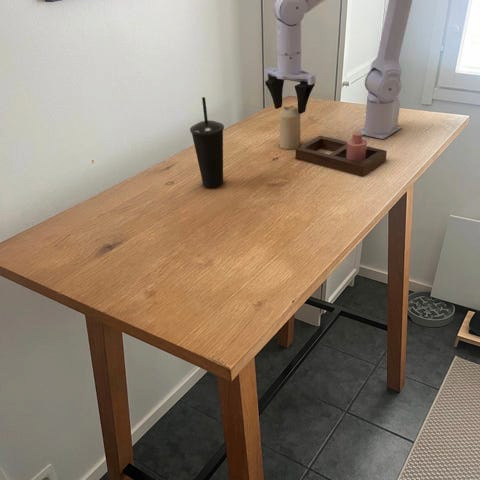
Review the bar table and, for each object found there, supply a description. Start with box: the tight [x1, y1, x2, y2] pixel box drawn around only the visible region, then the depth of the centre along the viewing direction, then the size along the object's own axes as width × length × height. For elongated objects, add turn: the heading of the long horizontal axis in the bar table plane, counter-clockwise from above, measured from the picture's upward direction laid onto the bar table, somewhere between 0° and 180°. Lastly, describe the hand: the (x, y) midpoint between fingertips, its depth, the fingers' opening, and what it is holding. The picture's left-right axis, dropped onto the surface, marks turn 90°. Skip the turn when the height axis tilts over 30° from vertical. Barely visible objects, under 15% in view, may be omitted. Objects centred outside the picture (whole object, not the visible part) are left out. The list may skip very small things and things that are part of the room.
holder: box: [295, 135, 388, 177], centre depth 126 cm, size 11×20×3 cm, turn 48°
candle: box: [278, 105, 301, 150], centre depth 134 cm, size 6×6×10 cm
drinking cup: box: [189, 96, 225, 190], centre depth 115 cm, size 8×8×20 cm
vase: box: [346, 131, 368, 162], centre depth 122 cm, size 5×5×8 cm
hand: (289, 110), depth 131 cm, fingers open, 7 cm apart
